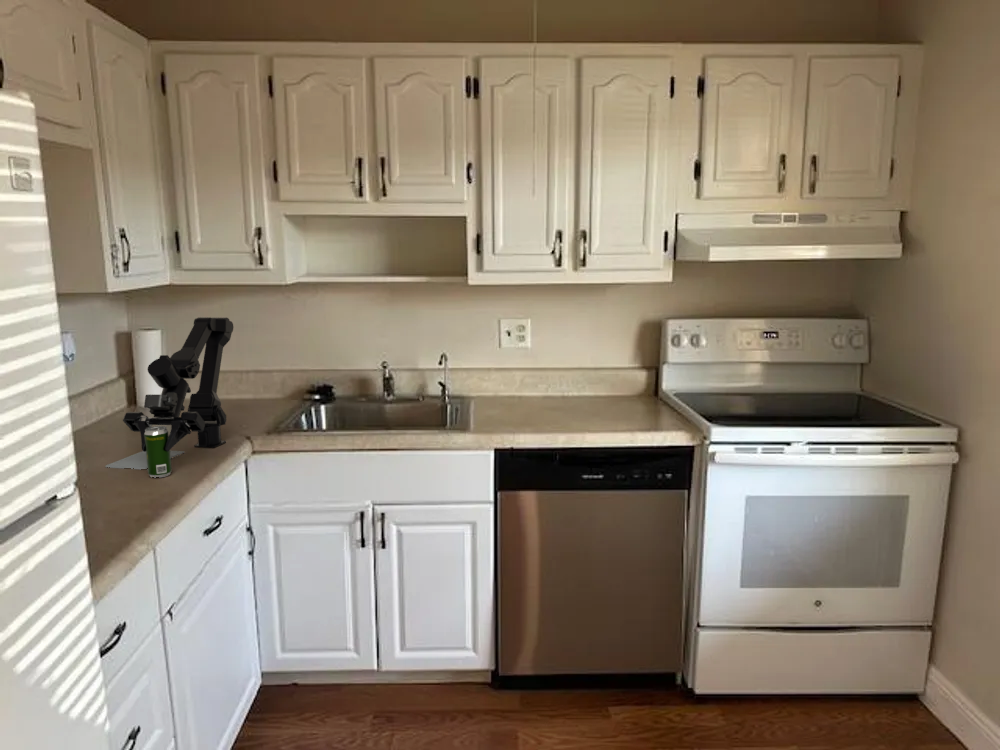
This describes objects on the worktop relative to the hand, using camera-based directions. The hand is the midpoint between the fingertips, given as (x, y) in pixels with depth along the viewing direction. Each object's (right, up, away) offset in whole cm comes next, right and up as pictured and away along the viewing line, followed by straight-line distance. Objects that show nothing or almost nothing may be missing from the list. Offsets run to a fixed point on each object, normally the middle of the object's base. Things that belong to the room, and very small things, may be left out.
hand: (154, 450), depth 173 cm
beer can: (0, -6, +3) cm, 7 cm away
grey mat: (-10, -4, +16) cm, 20 cm away
